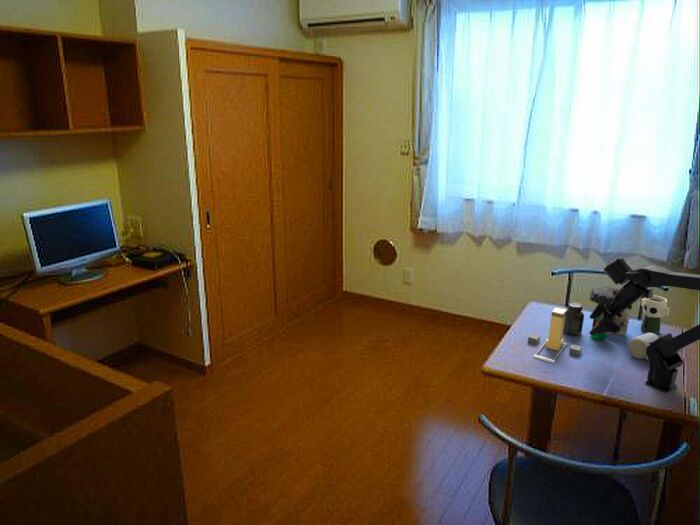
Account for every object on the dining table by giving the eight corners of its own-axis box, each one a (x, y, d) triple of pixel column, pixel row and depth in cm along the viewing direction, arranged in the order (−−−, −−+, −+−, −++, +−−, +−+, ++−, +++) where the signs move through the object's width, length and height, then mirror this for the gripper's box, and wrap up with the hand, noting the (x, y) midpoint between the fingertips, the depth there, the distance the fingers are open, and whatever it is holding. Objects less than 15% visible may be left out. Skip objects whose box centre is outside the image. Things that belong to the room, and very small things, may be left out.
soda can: (607, 344, 187) (612, 313, 184) (591, 343, 188) (597, 311, 185) (603, 338, 192) (609, 307, 188) (588, 337, 193) (593, 306, 189)
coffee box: (599, 333, 196) (607, 292, 191) (596, 326, 202) (603, 286, 197) (626, 336, 194) (634, 294, 189) (622, 328, 200) (629, 288, 195)
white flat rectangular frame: (585, 353, 181) (587, 344, 180) (573, 372, 169) (575, 363, 168) (526, 337, 192) (527, 329, 191) (511, 354, 180) (512, 345, 179)
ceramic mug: (624, 353, 181) (628, 333, 179) (640, 349, 185) (645, 329, 182) (653, 368, 172) (658, 347, 170) (669, 363, 176) (675, 342, 173)
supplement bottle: (582, 334, 195) (587, 303, 192) (579, 341, 190) (584, 309, 186) (563, 329, 199) (567, 299, 195) (558, 336, 193) (563, 305, 190)
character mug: (630, 327, 202) (636, 294, 198) (643, 323, 205) (649, 292, 201) (656, 338, 192) (663, 305, 188) (669, 335, 195) (677, 302, 191)
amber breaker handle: (562, 346, 183) (567, 310, 179) (558, 350, 180) (564, 314, 176) (549, 342, 186) (554, 307, 182) (545, 347, 182) (550, 311, 178)
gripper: (604, 266, 174) (571, 296, 183) (605, 296, 159) (568, 327, 168) (633, 286, 174) (598, 315, 183) (636, 318, 159) (598, 348, 168)
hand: (590, 325), depth 175 cm, fingers open, 9 cm apart
